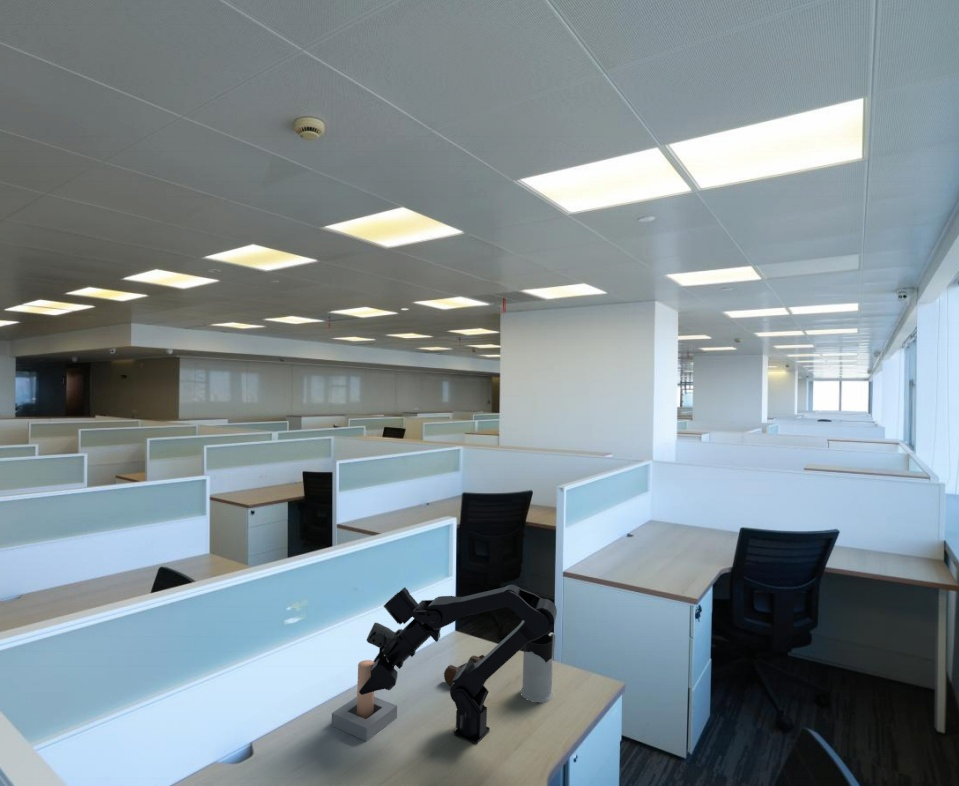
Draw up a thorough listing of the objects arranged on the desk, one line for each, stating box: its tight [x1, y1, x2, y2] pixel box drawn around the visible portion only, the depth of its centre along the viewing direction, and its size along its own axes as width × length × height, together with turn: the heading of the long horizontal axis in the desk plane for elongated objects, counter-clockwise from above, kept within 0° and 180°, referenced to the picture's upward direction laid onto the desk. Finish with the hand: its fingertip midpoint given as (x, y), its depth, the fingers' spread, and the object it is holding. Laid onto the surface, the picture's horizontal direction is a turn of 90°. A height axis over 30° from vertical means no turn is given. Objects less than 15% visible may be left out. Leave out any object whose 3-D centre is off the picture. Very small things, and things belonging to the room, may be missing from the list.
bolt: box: [443, 654, 486, 687], centre depth 158 cm, size 6×5×15 cm
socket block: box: [331, 696, 398, 742], centre depth 135 cm, size 11×11×3 cm
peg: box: [356, 659, 375, 719], centre depth 135 cm, size 4×4×14 cm
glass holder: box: [520, 632, 556, 704], centre depth 152 cm, size 9×14×15 cm, turn 146°
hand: (364, 682), depth 135 cm, fingers open, 9 cm apart
